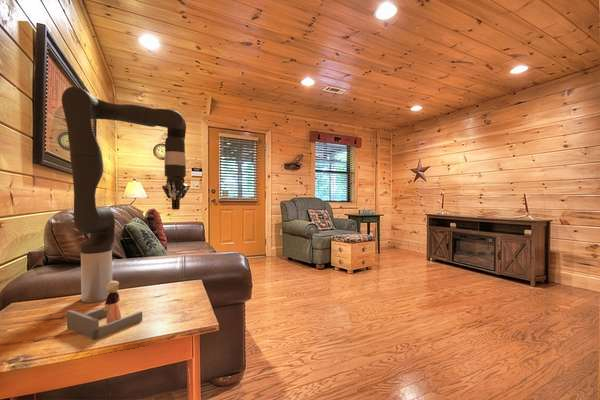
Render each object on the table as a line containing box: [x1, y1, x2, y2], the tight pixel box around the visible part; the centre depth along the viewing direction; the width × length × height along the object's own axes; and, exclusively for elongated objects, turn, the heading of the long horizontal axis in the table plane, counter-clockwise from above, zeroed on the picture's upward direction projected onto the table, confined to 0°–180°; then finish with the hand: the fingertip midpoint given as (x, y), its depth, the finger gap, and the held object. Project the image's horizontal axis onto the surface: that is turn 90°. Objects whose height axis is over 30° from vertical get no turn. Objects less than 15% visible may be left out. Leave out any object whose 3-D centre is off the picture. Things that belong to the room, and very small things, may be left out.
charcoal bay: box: [66, 307, 143, 341], centre depth 83 cm, size 14×13×5 cm
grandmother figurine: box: [103, 280, 122, 324], centre depth 83 cm, size 8×4×13 cm, turn 19°
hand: (175, 209), depth 110 cm, fingers closed
